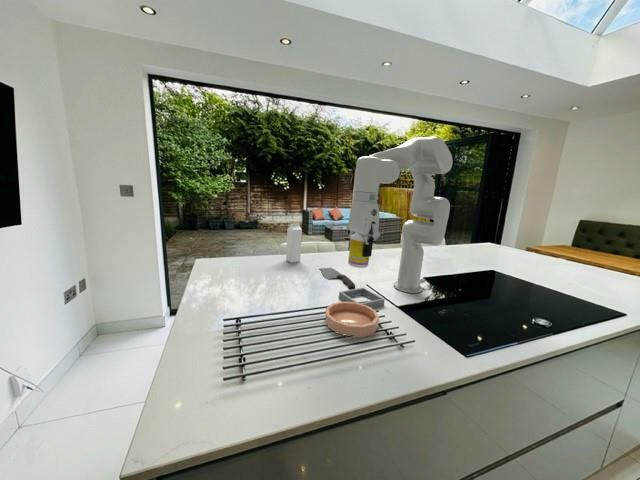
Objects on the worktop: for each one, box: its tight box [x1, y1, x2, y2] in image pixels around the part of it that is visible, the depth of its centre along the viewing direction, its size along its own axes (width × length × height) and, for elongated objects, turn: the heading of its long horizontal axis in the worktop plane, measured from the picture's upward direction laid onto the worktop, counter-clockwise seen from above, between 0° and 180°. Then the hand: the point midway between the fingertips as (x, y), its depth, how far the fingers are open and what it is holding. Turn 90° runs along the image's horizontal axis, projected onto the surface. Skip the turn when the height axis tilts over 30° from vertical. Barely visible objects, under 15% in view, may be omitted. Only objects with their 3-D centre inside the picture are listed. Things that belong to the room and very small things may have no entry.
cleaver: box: [318, 267, 356, 290], centre depth 131 cm, size 30×10×2 cm, turn 24°
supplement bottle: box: [347, 227, 370, 269], centre depth 87 cm, size 7×7×13 cm
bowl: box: [324, 301, 380, 338], centre depth 89 cm, size 17×17×4 cm
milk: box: [285, 222, 303, 264], centre depth 152 cm, size 6×6×22 cm
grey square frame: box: [338, 287, 385, 308], centre depth 106 cm, size 13×13×2 cm
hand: (359, 253), depth 87 cm, fingers closed on supplement bottle, 6 cm apart
